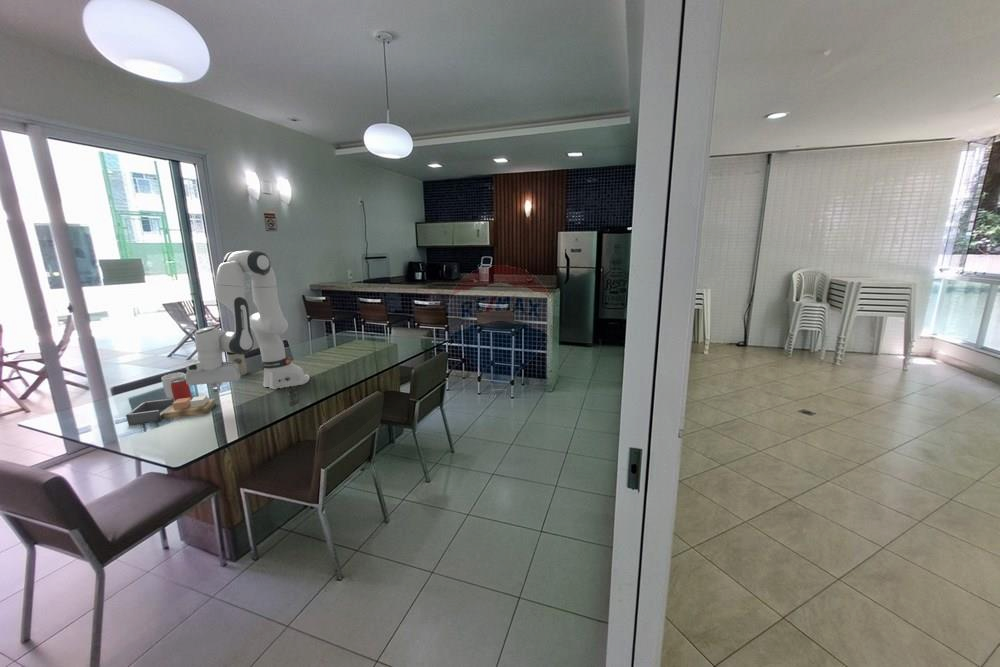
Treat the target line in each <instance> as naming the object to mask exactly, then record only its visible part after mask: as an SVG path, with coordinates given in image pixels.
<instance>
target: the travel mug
mask: <svg viewBox="0 0 1000 667" xmlns="http://www.w3.org/2000/svg"><path fill="white" fill-rule="evenodd" d="M226 355H227V362H231V361H234V362H236V363H238V365H239V369H238V370H239V373H240V375H241V376H244V375H246V374H248V368H247V362H246V358H245V354H243V355H239V354H236V353H232V352H226Z"/></svg>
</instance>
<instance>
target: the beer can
mask: <svg viewBox="0 0 1000 667" xmlns="http://www.w3.org/2000/svg"><path fill="white" fill-rule="evenodd" d="M171 389H172V393H173V397H174V399H173V400H174V402H175V401H176V400H177V399H182V398H190V397H191V400H192V399H193V397H192V396H193V395H192V392H191V387H189V385H188V384H187V383H186V377H185V378H180V379H176V380H173V381H171Z"/></svg>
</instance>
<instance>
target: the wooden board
mask: <svg viewBox="0 0 1000 667" xmlns="http://www.w3.org/2000/svg"><path fill="white" fill-rule="evenodd" d="M216 404H217V402H216V399H215V398H208V402H207V403H206V404H205V405H204V406H198V407H191V405H190V406H189V407H188V408H182V409H175V410H174V408H173V405H172V406H171V407H169V408H168V409H167V410H166V411H165V412H164V413H162V414H163V417H164V419H163V420H170V419H179V418H185V417H186V418H187V417H194V416H195V417H196V416H201V415H202V416H203V415H207V414H209V413H210V411H211V410H212V409H213V408H214V407H215V405H216Z"/></svg>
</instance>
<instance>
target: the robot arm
mask: <svg viewBox="0 0 1000 667" xmlns="http://www.w3.org/2000/svg"><path fill="white" fill-rule="evenodd" d="M247 274H248V275H249V276H250V279H251V283H250V284H251V291H252V292H251V293H252V301H253V304H254V306H255V307H256V309H257V312H255V313H253V314H251V315H250V310H249V304H248V301H247V300H246V297H245V296H246V295H245V276H246V275H247ZM276 278H277V277H276V275H275V271H274V269H273V267H272V264H271V260H270V258H269V256H268V255H267V254H266V253H264V252H262V251H259V250H238V251H237V250H233V251H229V252H228V253H226V254H225V256H224V257H223V261H222V263H219V265H218V267H217V270H216V275H215V282H214V283H215V286H214V293H215V298H216V299H217V301H218V302H220V303H221V304H222V305H224V306H226V307H227V308H228V309H229V310H230V311H231V313H232V315H233V326H234V331H231V330H230V331H228V330H223V329H218V328H216V327H214V326H206V327H202V328H199V329H197V330H196V331H195V333H194V345H195V350H196V351H197V360H195V361H192V362H190V363H189V364H187V365H186V366H185V370H186V372H185V374H186V376H185V379H186V383H187V384H188V385H191V386H197V385H207V387H208V388H209V389H210V391H211V393H219V392H221V386H222V384H223V383H228V382H238V381H239V380H240V378H241V376H240V373H239V370H238V369H239V365H238V363H236V362H234V361H231V362H228V361H224V360H223V353H224V352H225V353H227V352H232V353H236V354H239V355H243V354H244V355H247V354H248V353H249V352H251V350H252V349H253V347H254V343H255V342H254V337H255V339H256V342H257V344H258V347H259V351H260V356H261V368H262V371H263V383H262V386H264V387H263V388H265V387H269V388H268V389H271V388H272V389H271V390H278V389H277V388H280V389H285V388H290V386H291V387H296V386H300V385H302V386H303V385H305V384H306V383H308V382H309V381H310V378H311V377H310V375H309V374H306V373H305V372H304V369H303V368H302V367H301V366H299V365H297V364H295V363H292V361H291V357H288V356H286V352H285V344H284V342H283V340H282V339H281V338H280V335H283V334H284V333H286V332H287V330H288V327H289V322H288V320H287V319H286V318H285V317H284V314H283V311H282V308H281V305H280V302H279V295H278V287H277V286H278V284H277V280H276ZM251 330H252V331H251ZM252 332H253V334H254V337H253V335H252ZM213 384H216V385H217V386H216V387H214V386H213ZM284 387H285V388H284Z"/></svg>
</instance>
